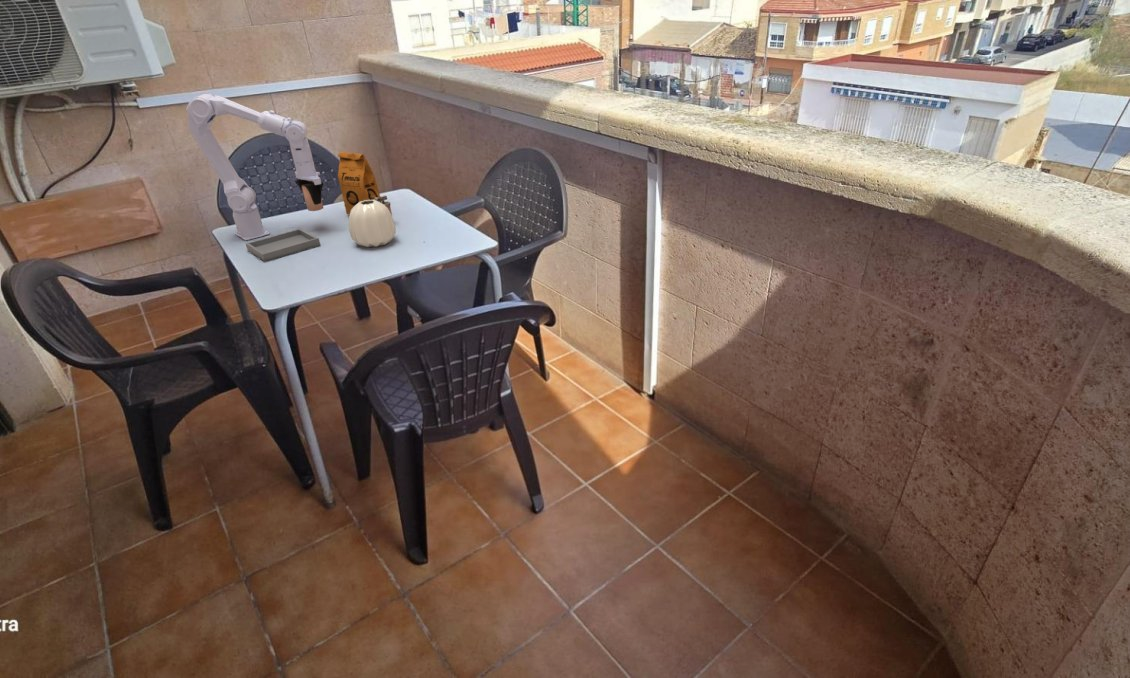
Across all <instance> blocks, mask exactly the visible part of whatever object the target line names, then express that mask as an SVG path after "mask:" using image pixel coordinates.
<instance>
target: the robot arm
mask: <svg viewBox="0 0 1130 678" xmlns="http://www.w3.org/2000/svg"><path fill="white" fill-rule="evenodd" d="M185 110H186V113H187V123H188V124H187V125H188V130H189V132H190V134H191V136H192V137H193V138H194V140H195V143H197V145H198V146H199V149H200V150H201V152H203V154H204V156H205V158H206V159H207V161H208V163H209V164H210V166H211V168H212V169H213V170H214V173H215V174H216V175H217V177H218V178H219V180H220V182H221V183H222V185H223V192H224V195H225V196H226V199H227V200H226V201H227V204H228V206H229V208H230V209H231V210H232V219H233V221H234V224H235V226H236V232H235V233H234V235H236V236H238V237H239V238H241V239H243V240H244V241H250V240H253V239H256V238H257V239H258V238H262V237H264V236H267V235H270V234H271V233H270V232H269V231H268V230H265V228H264V225H263V221H262V218H261V215H260V211H259V207H258V206H257V204H256V203H255V201H256V198H257V194H256V192H255V190H254V189H253V188H252V187H250V186H249V185H248V183H247V182H246V181H245V180H244V179H243V178H241V177H240V176H239V174H238V173H237V171H236V170H235V168H234V166H233V164H232V162H231V161H230V160H229V158H228V156H227V155H226V153H225V151H224V150H223V148H222V147H221V145H220V143H219V141H218V140H217V138H216V137H215V135H214V134H213V132H212V130H211V127H212V124H213V121H214V119H215V117H220V116H225V115H231V116H233V117H237V118H240V119H244V120H247V121H250V122H253V123H256V124H257V125H258V126H259V128H260V129H261V130H263V131H266V132H269V133H272V134H275V135H278V136H281V137H285V138H286V140H287V141H288V143H289V146H290V152H291V155H292V159H293V163H294V166H295V170H294V174H295V177H296V178H297V179H296V180H295V181H294V182H295V184H296V185H297V186H298V188H299V189H300V191H301V192H302V195H304V193H303V190H302V185H304V186H305V187H306V188H307V190H308V191H309V193H310V195H311V198H312V201H313V203H314V204H315V205H317V204H321V199H322V191H323V186H324V182H323V181H322V180H321V177H319V176H320V175H321V173H320V172H319V171H316V167H315V163H314V158H313V153H312V150H311V147H310V144H309V140H308V139H309V138H308V137H307V135H308V128H307V126H306V124H305V123H303V122H302V121H300V120H299V119H293V120H292V118H291V117H285V116H282V115H279V114H276V111H274V110H272V109H270V110H269V111H268V110H264V111H262V112H259V111H258V110H255V109H252V108H250V107H247V106H245V105H242V104H240V103H237V102H235V101H233V100H230V99H228V98H226V97H224V96H221V95H215V94H213V93H210V92H202V93H201V94H199V95H197V96H194V97H192V98H190V99H189V102H188V104H187V106H186V108H185ZM307 183H308V184H307Z"/></svg>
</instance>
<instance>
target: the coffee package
mask: <svg viewBox="0 0 1130 678" xmlns="http://www.w3.org/2000/svg"><path fill="white" fill-rule="evenodd" d="M337 156H338V158H339V164H338V172H337V180H338V183H339V187H340V193H341V195H342V200H343V204H344V207H345V213H346V215H350V212H351V209H352V208H353V207H354V206H355V205H356V204H358V203H359V202H361V201H364V200H374V198H375V197H377V198H380V197H381V193H380V190H379V187H378V184H377V180H376V177H375V174H374V172H373V169H372V168H371V166H370V164H369V162H368V160H367V159H366V156H365V155H364V153H355V152H344V151H343V152H342V151H339V152H338V154H337Z"/></svg>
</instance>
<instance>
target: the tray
mask: <svg viewBox="0 0 1130 678" xmlns="http://www.w3.org/2000/svg"><path fill="white" fill-rule="evenodd" d="M317 246H318V247H321V242H320V238H319V237H317V236H316V235H314V234H311V233H309V232H308V231H306V230H304V229H302V228H297V229H293V230H289V231H285V232H282V233H277V234H276V235H271V236H268V237H267V236H266V237H264V238H260V239H257V240H252V241H249V242H246V243H245V247H246V250H247V251H248V252H249V253H250V254H252V255H253V256H255V257H256V258H258V259H259V260H261V261H263V262H264V263H266V262H267V263H268V262H271V261H275V260H278V259H282V258H283V257H284V258H285V257H287V256H290V255H294V254H297V253H301V252H304V251H308V250H311V249H314V248H317Z"/></svg>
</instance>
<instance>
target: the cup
mask: <svg viewBox="0 0 1130 678" xmlns="http://www.w3.org/2000/svg"><path fill="white" fill-rule="evenodd" d="M307 184H308V183H307ZM302 190H303V193H304V194H303V193H302V194H303V197H304V201H305V204H306V208H307V211H308V212H309V211H310V212H317V211H318V212H319V211H321V210H324V204H323V200H322V198H321V204H317V205H315V204H314V203H313V201H312V198H311V195H310V193H309V191H308V190H307V188H306V187H305V186H304V185H302Z"/></svg>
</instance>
